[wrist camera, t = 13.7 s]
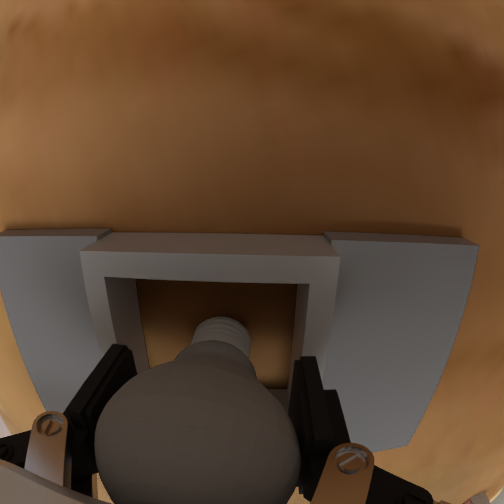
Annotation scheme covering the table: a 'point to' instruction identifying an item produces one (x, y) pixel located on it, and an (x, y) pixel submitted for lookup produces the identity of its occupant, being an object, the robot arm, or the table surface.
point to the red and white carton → (478, 499)
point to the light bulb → (198, 429)
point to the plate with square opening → (251, 271)
